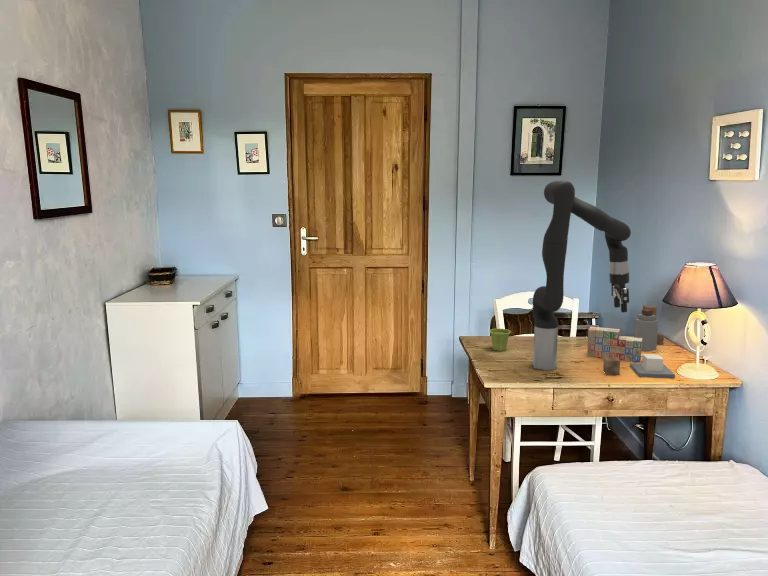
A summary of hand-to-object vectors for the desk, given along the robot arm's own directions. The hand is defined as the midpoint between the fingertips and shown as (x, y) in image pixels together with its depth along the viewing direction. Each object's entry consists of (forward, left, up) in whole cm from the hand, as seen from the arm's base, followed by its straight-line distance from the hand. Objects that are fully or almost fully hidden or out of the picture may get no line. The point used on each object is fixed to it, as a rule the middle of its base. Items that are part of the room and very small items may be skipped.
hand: (620, 309), depth 237 cm
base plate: (+10, -14, -22) cm, 28 cm away
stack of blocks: (0, +5, -23) cm, 23 cm away
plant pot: (-48, +12, -22) cm, 55 cm away
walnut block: (-6, -17, -22) cm, 29 cm away
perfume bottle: (+17, +20, -22) cm, 34 cm away
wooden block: (+23, +30, -22) cm, 44 cm away
